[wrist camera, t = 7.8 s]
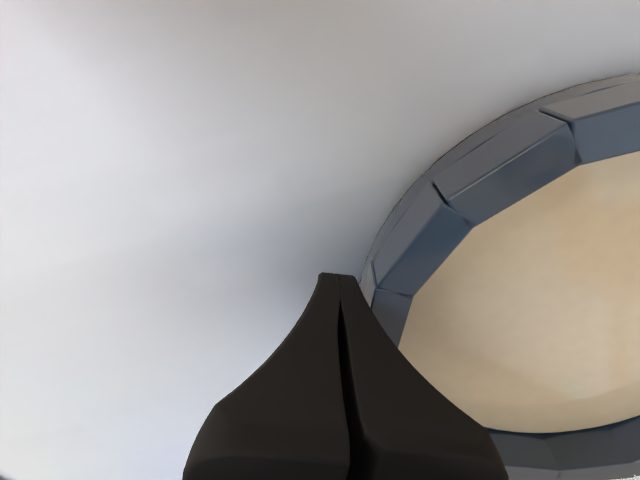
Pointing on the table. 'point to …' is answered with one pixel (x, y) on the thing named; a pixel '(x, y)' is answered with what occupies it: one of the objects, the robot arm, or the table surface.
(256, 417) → the robot arm
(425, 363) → the plate
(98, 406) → the table surface
